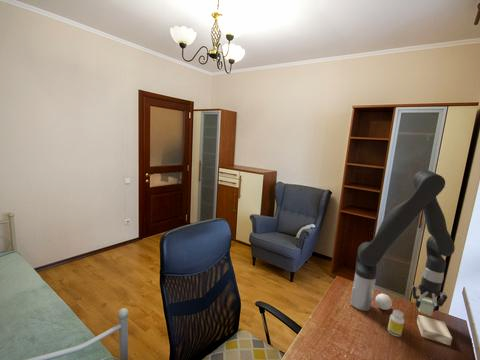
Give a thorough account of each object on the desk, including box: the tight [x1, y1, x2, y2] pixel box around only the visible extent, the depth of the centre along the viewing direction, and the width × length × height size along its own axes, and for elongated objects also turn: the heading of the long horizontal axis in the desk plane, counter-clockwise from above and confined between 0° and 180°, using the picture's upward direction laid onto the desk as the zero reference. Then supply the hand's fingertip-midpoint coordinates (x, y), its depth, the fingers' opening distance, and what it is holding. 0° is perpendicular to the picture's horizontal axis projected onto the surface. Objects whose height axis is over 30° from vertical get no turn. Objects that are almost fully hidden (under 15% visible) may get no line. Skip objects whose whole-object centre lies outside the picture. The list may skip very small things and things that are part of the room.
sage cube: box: [417, 297, 434, 316], centre depth 119 cm, size 5×5×5 cm
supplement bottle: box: [387, 309, 405, 337], centre depth 108 cm, size 5×5×10 cm
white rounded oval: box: [374, 293, 393, 311], centre depth 123 cm, size 10×7×7 cm
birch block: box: [416, 314, 453, 346], centre depth 110 cm, size 10×10×4 cm
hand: (424, 308), depth 119 cm, fingers closed on sage cube, 5 cm apart
